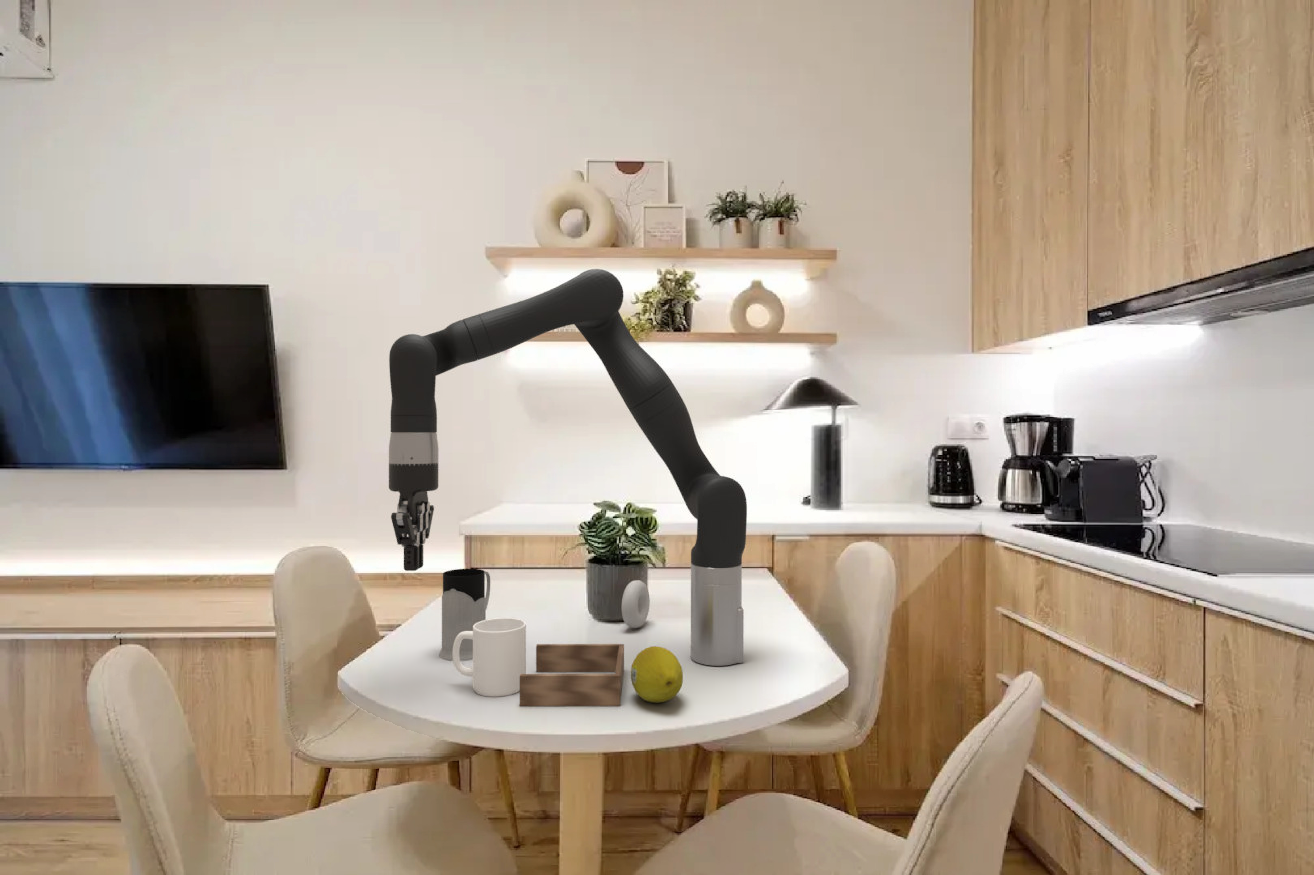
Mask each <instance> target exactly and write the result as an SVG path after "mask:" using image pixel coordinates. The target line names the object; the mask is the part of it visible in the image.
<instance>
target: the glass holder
mask: <svg viewBox="0 0 1314 875" xmlns="http://www.w3.org/2000/svg"><path fill="white" fill-rule="evenodd" d="M485 577H486V579H485ZM485 581H486V584H485ZM485 585H486V587H485ZM485 589H486V592H485ZM490 592H491V575H490V573H489V572H488V571H486V570H483V569H479V568H458V569H457V568H455V569H450V570H446V571H444V572H443V573H442V595H441V649H440V651H439V655H438V656H439V658H441V659H443V660H445V661H452V662H453V656H452V652H453V644H454V641H455V638H456V637H457V635H458V634H459V633H461V632H463V631H473V625H474V624H476V623H477V622H480V621H483V620H487V619H486V615H487V614H486V611H487V610H488V604H489V599H490V594H491V593H490ZM459 658H460V662H462V661H470V660H473V640H471V639H463V640H462V641H461V644H460V649H459Z"/></svg>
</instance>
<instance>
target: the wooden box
mask: <svg viewBox="0 0 1314 875" xmlns="http://www.w3.org/2000/svg"><path fill="white" fill-rule="evenodd" d="M535 654H536V655H535V656H536V657H535V658H536V659H535V661H536V662H535V672H536V673H526V674H520V691H519V707H620V706H621V703H622V699H621V698H622V694H623V693H622V691H623V684H624V682H623V681H624V673H625V644H624V643H566V644H564V643H552V644H550V643H546V644H545V643H544V644H543V643H542V644H541V643H537V644H536V645H535ZM576 672H577V673H576ZM590 672H591V673H590ZM593 672H594V673H593ZM595 672H596V673H595ZM606 672H608V673H606Z"/></svg>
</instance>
